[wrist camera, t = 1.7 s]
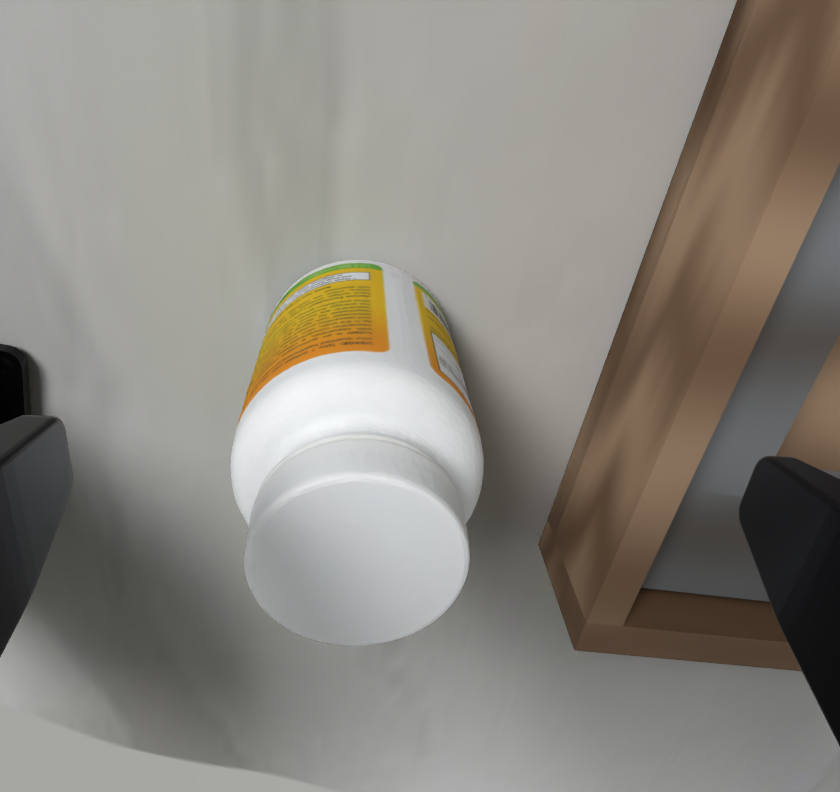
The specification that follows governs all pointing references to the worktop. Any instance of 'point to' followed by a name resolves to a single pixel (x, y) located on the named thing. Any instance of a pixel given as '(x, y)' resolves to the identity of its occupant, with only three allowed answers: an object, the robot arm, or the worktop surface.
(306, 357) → the supplement bottle
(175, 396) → the worktop surface
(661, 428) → the tray
